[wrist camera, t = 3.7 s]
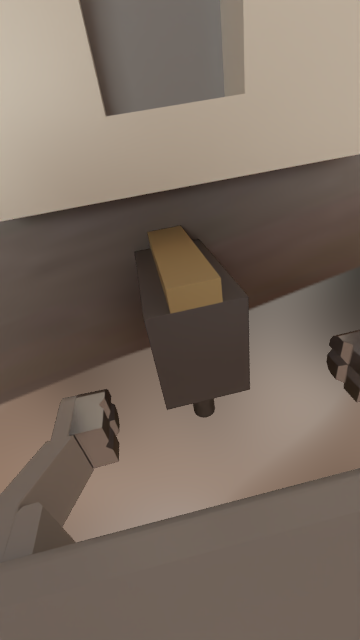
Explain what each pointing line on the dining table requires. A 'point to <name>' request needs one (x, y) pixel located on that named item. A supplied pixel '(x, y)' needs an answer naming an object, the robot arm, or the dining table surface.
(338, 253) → the dining table surface
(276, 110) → the socket block
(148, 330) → the plug
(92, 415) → the robot arm
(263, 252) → the dining table surface
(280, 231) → the dining table surface
